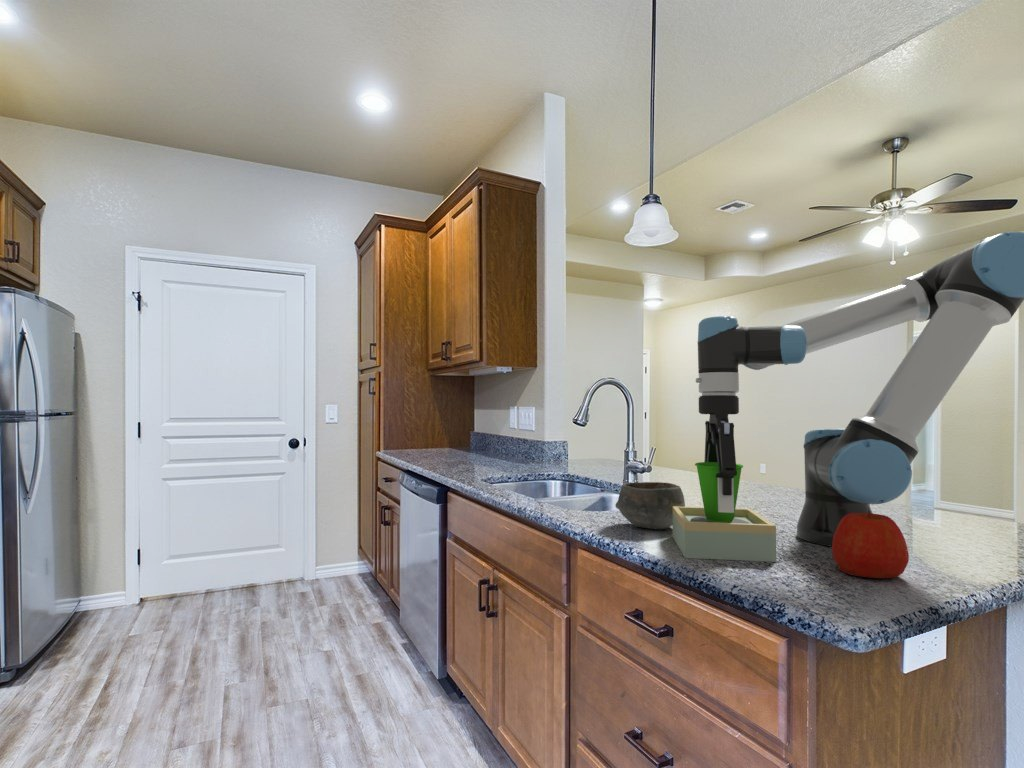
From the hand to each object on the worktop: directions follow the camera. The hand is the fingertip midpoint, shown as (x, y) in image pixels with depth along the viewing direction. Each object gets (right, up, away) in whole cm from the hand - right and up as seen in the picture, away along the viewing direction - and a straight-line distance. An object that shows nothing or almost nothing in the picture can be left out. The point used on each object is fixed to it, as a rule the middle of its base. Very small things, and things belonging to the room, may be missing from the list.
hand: (719, 507), depth 106 cm
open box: (0, -8, 0) cm, 8 cm away
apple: (+19, -8, -16) cm, 26 cm away
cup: (0, -3, 0) cm, 3 cm away
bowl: (-9, -9, +17) cm, 22 cm away
